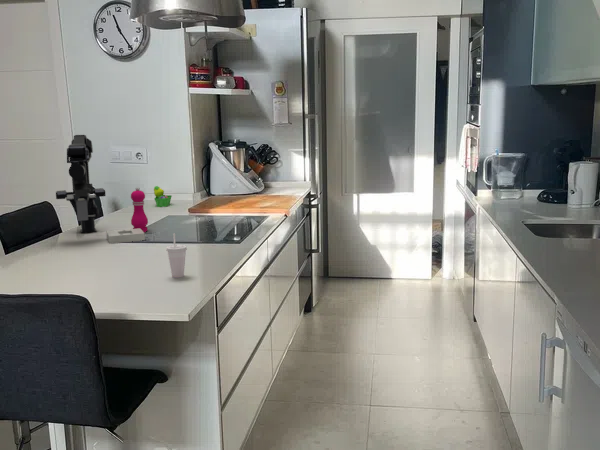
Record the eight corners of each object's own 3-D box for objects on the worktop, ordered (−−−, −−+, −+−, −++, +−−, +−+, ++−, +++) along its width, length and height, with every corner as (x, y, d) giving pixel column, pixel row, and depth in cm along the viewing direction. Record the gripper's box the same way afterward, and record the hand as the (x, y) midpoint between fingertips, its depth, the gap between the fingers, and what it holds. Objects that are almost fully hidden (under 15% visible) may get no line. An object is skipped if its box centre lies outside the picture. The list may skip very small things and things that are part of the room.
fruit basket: (168, 207, 334) (166, 187, 332) (152, 207, 334) (150, 187, 332) (172, 204, 345) (171, 184, 343) (157, 204, 345) (156, 184, 343)
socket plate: (106, 238, 253) (106, 230, 252) (140, 235, 258) (140, 228, 257) (109, 243, 242) (109, 236, 241) (144, 240, 247) (144, 233, 247)
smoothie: (169, 273, 195) (166, 231, 193) (189, 273, 196) (187, 231, 193) (166, 279, 189) (164, 235, 186) (187, 278, 189) (185, 235, 187)
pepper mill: (144, 233, 261) (141, 187, 258) (128, 233, 263) (125, 187, 259) (151, 230, 268) (148, 185, 265) (136, 229, 270) (133, 185, 266)
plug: (77, 219, 246) (75, 198, 244) (87, 218, 247) (86, 197, 246) (77, 220, 242) (76, 199, 240) (88, 220, 244) (86, 199, 242)
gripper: (54, 179, 231) (58, 219, 233) (105, 177, 238) (108, 215, 241) (54, 177, 241) (57, 215, 243) (102, 174, 248) (105, 211, 251)
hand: (82, 214), depth 244 cm, fingers closed on plug, 4 cm apart
